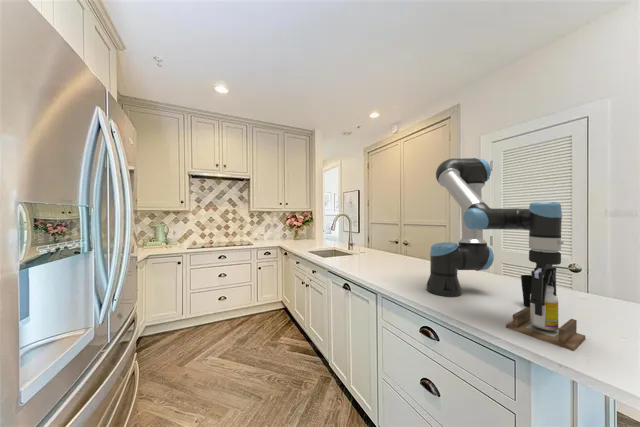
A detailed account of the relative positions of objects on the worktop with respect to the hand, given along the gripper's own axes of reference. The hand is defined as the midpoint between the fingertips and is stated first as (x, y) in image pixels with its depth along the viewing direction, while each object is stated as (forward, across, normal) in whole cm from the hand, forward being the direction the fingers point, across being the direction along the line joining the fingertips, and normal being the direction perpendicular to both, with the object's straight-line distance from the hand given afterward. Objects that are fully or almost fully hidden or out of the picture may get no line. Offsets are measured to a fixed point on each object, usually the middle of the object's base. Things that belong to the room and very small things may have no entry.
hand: (543, 321), depth 77 cm
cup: (+4, +24, +10) cm, 26 cm away
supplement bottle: (+2, 0, 0) cm, 2 cm away
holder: (+3, 0, 0) cm, 3 cm away
